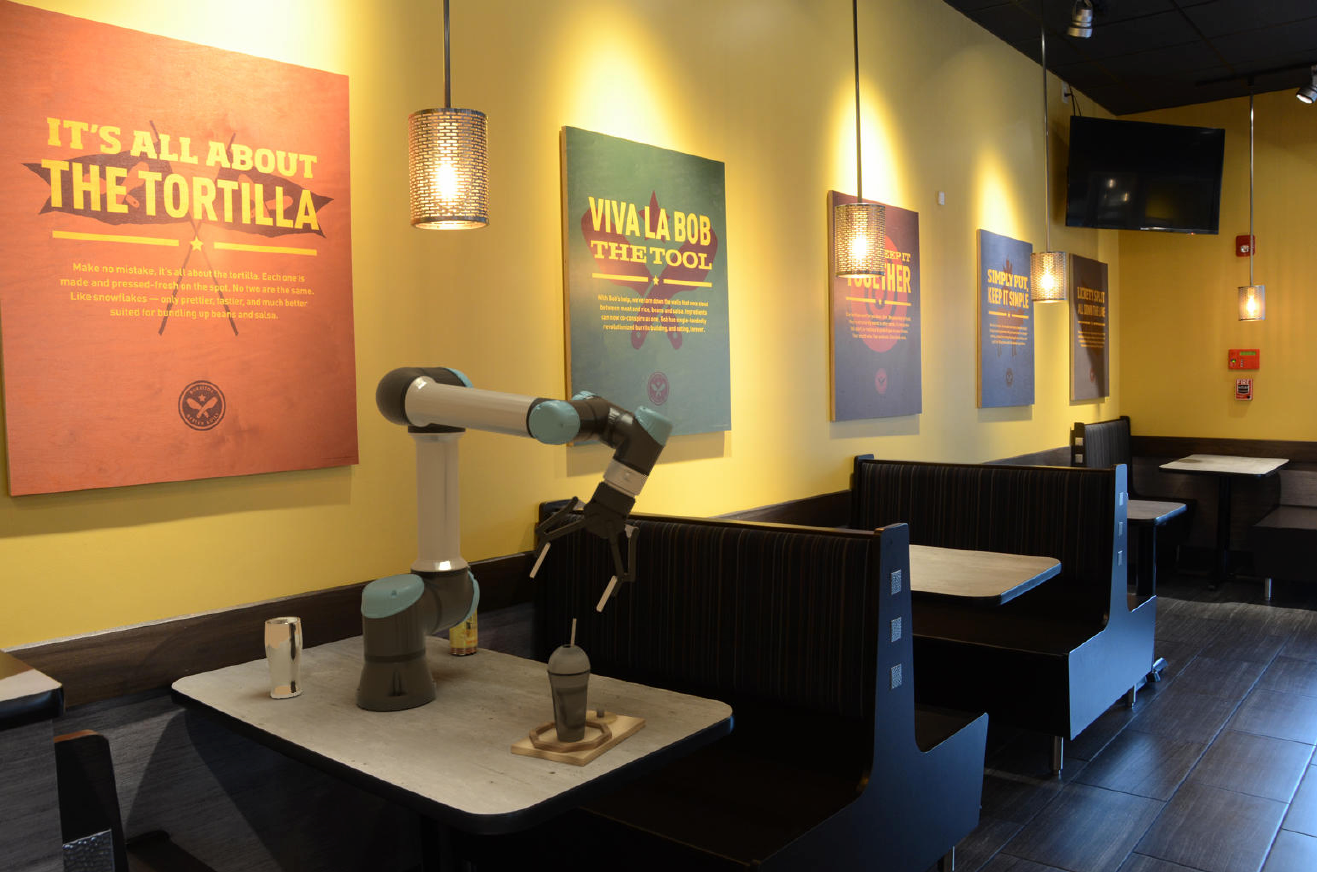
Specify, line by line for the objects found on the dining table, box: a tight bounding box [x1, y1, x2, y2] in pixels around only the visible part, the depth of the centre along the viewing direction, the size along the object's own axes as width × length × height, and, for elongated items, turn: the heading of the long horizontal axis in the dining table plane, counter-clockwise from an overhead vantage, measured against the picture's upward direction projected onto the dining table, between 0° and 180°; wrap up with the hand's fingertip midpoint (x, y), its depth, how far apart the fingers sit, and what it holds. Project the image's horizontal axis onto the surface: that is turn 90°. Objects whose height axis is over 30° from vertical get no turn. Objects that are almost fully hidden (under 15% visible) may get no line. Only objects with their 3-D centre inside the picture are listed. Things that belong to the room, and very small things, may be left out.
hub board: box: [510, 708, 646, 767], centre depth 164 cm, size 14×20×3 cm
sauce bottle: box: [448, 565, 479, 655], centre depth 221 cm, size 7×6×20 cm
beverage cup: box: [546, 618, 592, 743], centre depth 161 cm, size 7×7×20 cm
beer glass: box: [264, 616, 303, 695], centre depth 193 cm, size 7×7×15 cm
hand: (565, 593), depth 175 cm, fingers open, 13 cm apart
